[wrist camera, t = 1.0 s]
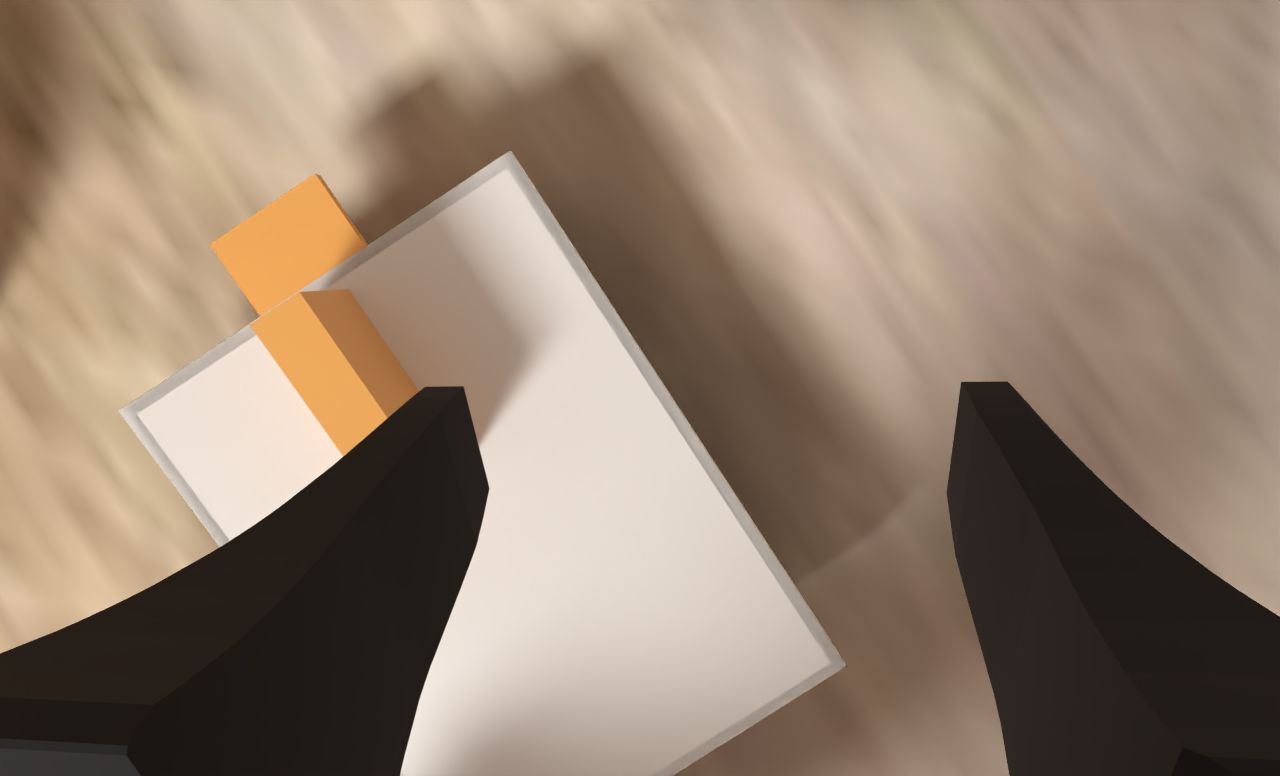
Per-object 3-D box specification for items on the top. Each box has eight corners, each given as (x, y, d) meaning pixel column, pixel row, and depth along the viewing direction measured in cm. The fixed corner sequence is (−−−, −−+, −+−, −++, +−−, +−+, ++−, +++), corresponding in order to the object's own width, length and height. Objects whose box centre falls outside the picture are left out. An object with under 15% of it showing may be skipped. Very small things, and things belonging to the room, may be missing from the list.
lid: (487, 863, 25) (458, 1004, 20) (99, 336, 23) (-38, 353, 18) (833, 644, 25) (889, 734, 20) (470, 87, 23) (433, 36, 18)
